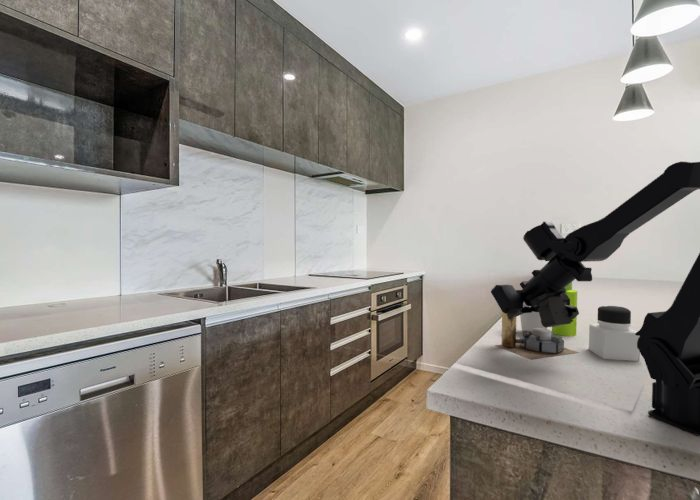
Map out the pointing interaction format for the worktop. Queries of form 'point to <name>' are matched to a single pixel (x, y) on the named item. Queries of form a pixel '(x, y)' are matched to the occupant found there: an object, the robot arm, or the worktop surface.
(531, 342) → the desk sculpture ornament
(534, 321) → the dixie cup
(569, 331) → the soap dispenser
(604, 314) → the medicine bottle
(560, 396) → the worktop surface
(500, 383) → the worktop surface
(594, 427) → the worktop surface
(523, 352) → the mount board
